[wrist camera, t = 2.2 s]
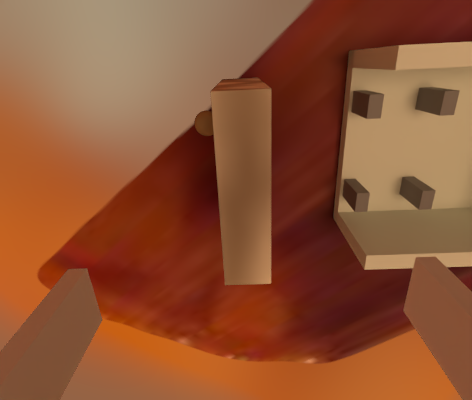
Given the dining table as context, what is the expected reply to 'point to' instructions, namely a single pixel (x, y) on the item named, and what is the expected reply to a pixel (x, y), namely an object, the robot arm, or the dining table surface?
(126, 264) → the dining table surface
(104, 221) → the dining table surface
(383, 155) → the cabinet
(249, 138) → the door
